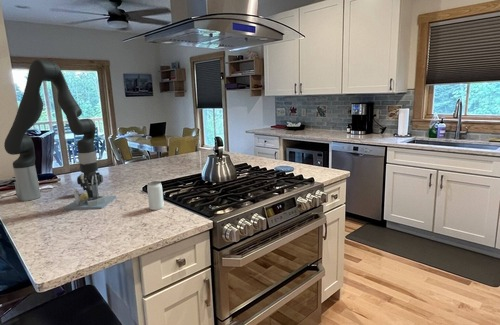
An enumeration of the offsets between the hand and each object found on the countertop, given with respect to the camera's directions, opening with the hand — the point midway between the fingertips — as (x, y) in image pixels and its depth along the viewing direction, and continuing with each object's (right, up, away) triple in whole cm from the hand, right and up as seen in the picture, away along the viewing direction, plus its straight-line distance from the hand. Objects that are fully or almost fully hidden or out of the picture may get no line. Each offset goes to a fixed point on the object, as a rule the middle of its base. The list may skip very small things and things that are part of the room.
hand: (93, 195), depth 152 cm
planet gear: (0, -2, +1) cm, 2 cm away
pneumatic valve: (-10, -1, +19) cm, 21 cm away
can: (+33, -5, -8) cm, 34 cm away
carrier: (-2, -4, +2) cm, 5 cm away
